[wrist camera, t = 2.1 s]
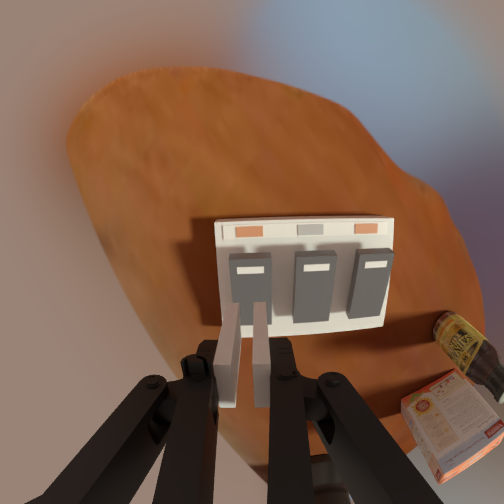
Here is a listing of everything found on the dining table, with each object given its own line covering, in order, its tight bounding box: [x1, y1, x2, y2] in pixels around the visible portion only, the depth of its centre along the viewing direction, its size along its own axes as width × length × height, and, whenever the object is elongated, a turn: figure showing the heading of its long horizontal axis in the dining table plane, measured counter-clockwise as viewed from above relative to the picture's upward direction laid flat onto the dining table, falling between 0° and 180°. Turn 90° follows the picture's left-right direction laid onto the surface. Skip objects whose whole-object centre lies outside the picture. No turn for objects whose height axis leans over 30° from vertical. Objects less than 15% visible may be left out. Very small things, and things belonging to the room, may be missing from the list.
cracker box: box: [401, 369, 504, 485], centre depth 32 cm, size 14×6×21 cm, turn 110°
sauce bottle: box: [433, 311, 504, 404], centre depth 28 cm, size 6×6×20 cm
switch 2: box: [346, 248, 394, 319], centre depth 31 cm, size 9×4×2 cm, turn 3°
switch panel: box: [214, 216, 394, 337], centre depth 34 cm, size 15×22×4 cm
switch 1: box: [229, 252, 272, 326], centre depth 31 cm, size 9×4×2 cm, turn 3°
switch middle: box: [292, 250, 337, 324], centre depth 31 cm, size 9×4×2 cm, turn 3°
